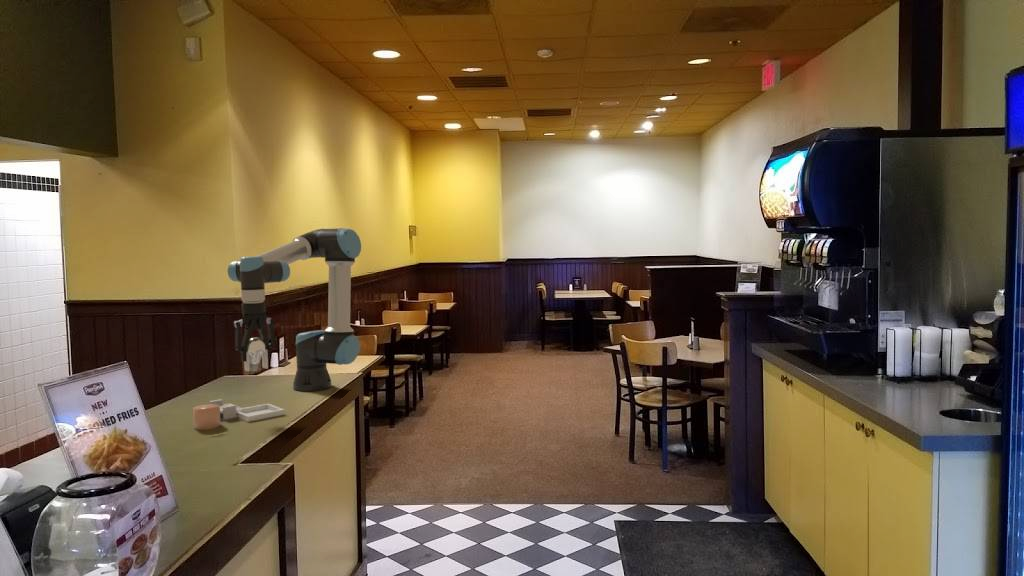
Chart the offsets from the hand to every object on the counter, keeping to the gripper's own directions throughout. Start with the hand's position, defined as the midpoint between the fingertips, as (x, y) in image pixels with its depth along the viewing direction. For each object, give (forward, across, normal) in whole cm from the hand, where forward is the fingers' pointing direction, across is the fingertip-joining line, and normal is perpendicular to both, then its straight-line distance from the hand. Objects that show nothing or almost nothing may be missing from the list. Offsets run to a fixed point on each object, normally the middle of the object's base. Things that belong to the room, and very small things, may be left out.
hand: (256, 369), depth 242 cm
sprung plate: (+14, +9, -8) cm, 18 cm away
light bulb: (+1, +1, -1) cm, 2 cm away
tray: (+17, 0, 0) cm, 17 cm away
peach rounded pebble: (+17, +18, +2) cm, 25 cm away
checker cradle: (+17, +9, -8) cm, 20 cm away
